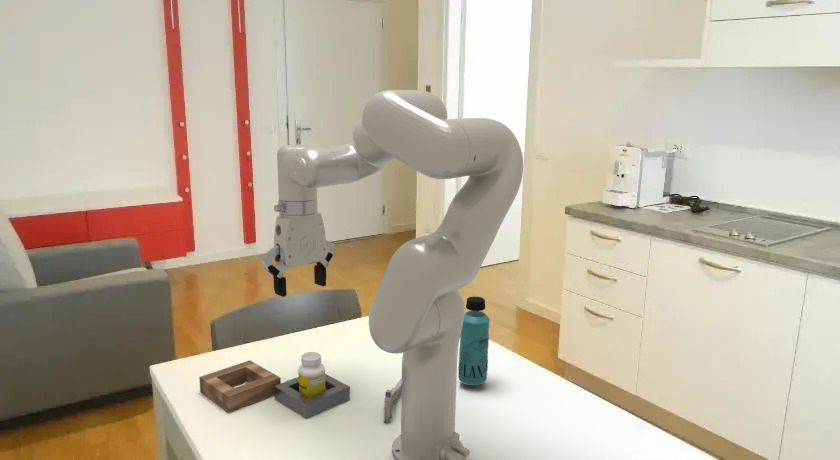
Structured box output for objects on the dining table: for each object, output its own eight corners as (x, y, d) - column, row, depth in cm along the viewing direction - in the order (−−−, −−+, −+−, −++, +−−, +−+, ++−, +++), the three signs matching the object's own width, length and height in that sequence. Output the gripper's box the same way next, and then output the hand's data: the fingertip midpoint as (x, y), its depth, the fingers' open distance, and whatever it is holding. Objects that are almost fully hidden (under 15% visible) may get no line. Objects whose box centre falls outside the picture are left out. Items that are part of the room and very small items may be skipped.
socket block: (350, 399, 129) (349, 386, 129) (306, 418, 122) (306, 404, 121) (317, 382, 137) (317, 369, 136) (274, 399, 129) (274, 386, 128)
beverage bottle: (452, 387, 135) (455, 300, 131) (464, 375, 141) (467, 291, 137) (480, 394, 132) (484, 305, 128) (491, 382, 138) (495, 296, 134)
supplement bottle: (296, 396, 130) (295, 352, 128) (321, 391, 133) (320, 348, 131) (302, 408, 126) (301, 363, 124) (328, 403, 128) (328, 358, 126)
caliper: (389, 425, 120) (389, 395, 119) (383, 424, 121) (383, 394, 119) (409, 378, 140) (409, 352, 139) (405, 378, 140) (405, 351, 139)
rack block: (281, 392, 132) (280, 377, 131) (229, 412, 123) (228, 396, 123) (250, 374, 140) (250, 360, 139) (200, 392, 132) (199, 377, 131)
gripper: (270, 216, 115) (274, 304, 119) (344, 205, 127) (345, 285, 131) (249, 210, 120) (253, 295, 124) (322, 200, 133) (324, 277, 136)
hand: (301, 289), depth 128 cm, fingers open, 9 cm apart
